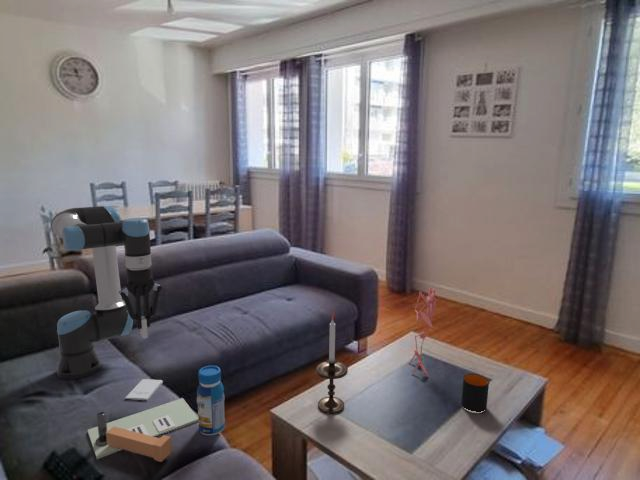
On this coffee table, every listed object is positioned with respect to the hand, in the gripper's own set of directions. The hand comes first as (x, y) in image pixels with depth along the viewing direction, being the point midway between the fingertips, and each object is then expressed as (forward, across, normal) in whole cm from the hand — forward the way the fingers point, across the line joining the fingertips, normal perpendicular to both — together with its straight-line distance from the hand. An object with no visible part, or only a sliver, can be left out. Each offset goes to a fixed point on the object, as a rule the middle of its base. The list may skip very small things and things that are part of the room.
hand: (144, 336), depth 139 cm
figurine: (+27, +99, -38) cm, 109 cm away
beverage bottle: (+27, +13, -22) cm, 37 cm away
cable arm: (+25, -9, -20) cm, 33 cm away
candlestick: (+27, +51, -35) cm, 67 cm away
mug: (+27, +92, -63) cm, 115 cm away
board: (+26, -4, -8) cm, 28 cm away
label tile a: (+26, -7, -12) cm, 30 cm away
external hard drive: (+27, +2, +13) cm, 30 cm away
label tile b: (+26, +1, -12) cm, 29 cm away
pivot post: (+26, -16, -10) cm, 32 cm away
